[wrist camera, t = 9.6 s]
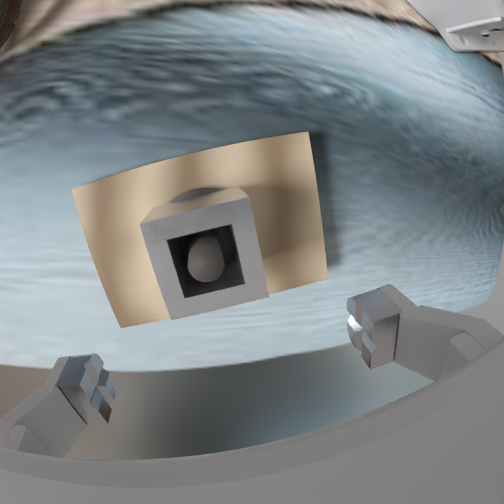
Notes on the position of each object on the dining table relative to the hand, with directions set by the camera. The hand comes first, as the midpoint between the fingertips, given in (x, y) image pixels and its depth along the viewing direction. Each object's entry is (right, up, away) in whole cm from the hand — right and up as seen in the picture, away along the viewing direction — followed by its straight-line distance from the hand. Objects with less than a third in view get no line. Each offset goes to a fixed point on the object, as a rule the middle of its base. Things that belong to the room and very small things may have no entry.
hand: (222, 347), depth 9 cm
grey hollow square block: (-2, +4, +12) cm, 13 cm away
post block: (-3, +5, +15) cm, 16 cm away
